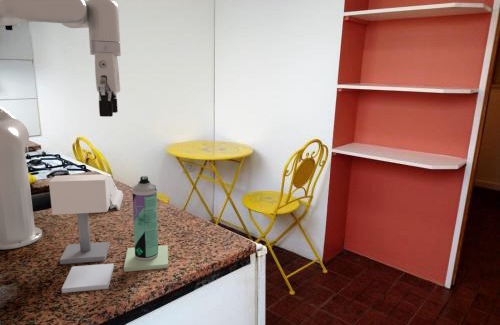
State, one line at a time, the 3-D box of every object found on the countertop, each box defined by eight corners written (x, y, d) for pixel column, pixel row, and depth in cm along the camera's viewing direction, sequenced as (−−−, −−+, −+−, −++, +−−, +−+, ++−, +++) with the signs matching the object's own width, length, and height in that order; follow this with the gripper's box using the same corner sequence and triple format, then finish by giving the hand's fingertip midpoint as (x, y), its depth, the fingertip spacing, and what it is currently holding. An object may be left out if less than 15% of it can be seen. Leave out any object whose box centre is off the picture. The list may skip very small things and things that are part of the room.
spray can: (150, 248, 94) (148, 172, 89) (162, 256, 90) (160, 177, 85) (130, 254, 90) (127, 176, 85) (142, 263, 86) (139, 181, 82)
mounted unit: (55, 264, 86) (46, 183, 82) (64, 249, 94) (56, 174, 89) (109, 260, 89) (103, 181, 84) (113, 245, 97) (109, 172, 92)
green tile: (123, 271, 84) (123, 267, 84) (127, 251, 94) (127, 247, 94) (168, 267, 87) (168, 264, 86) (167, 248, 96) (167, 245, 96)
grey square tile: (62, 292, 76) (61, 288, 75) (72, 270, 84) (72, 266, 84) (108, 288, 78) (107, 284, 77) (113, 267, 86) (113, 263, 86)
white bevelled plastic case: (119, 210, 121) (106, 183, 118) (105, 215, 121) (92, 189, 118) (123, 194, 137) (112, 170, 134) (111, 199, 136) (99, 175, 133)
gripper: (115, 48, 90) (119, 118, 93) (123, 52, 106) (126, 111, 110) (83, 46, 88) (88, 118, 92) (96, 50, 104) (100, 111, 108)
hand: (109, 114), depth 101 cm, fingers open, 9 cm apart
